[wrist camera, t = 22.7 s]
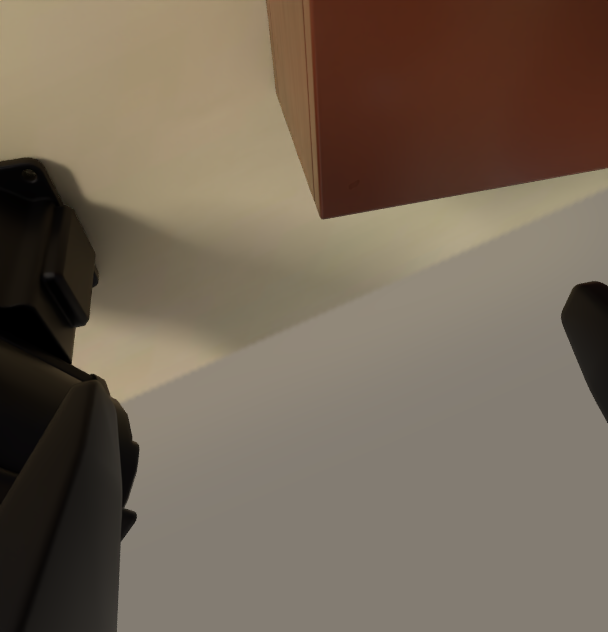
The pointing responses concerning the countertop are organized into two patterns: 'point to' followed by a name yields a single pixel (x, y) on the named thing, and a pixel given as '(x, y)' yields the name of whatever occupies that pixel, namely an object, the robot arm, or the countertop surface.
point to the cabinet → (439, 95)
